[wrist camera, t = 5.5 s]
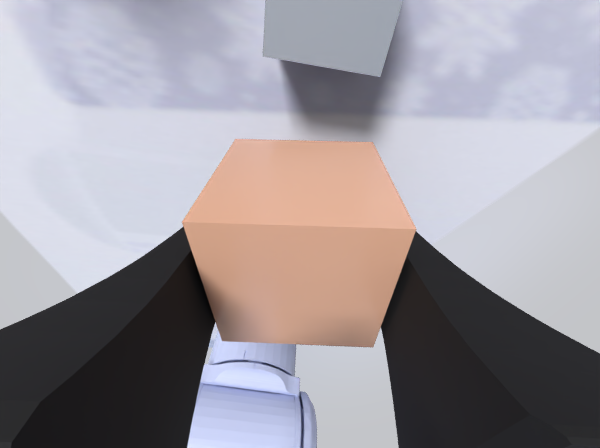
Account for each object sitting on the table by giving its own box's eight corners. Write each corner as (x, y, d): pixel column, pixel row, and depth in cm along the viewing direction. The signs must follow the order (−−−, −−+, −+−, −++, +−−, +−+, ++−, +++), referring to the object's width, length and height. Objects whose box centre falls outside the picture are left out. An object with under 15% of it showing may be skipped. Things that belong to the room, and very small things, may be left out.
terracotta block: (354, 244, 13) (373, 347, 9) (250, 241, 13) (222, 341, 9) (372, 142, 9) (416, 229, 6) (235, 139, 10) (182, 222, 6)
